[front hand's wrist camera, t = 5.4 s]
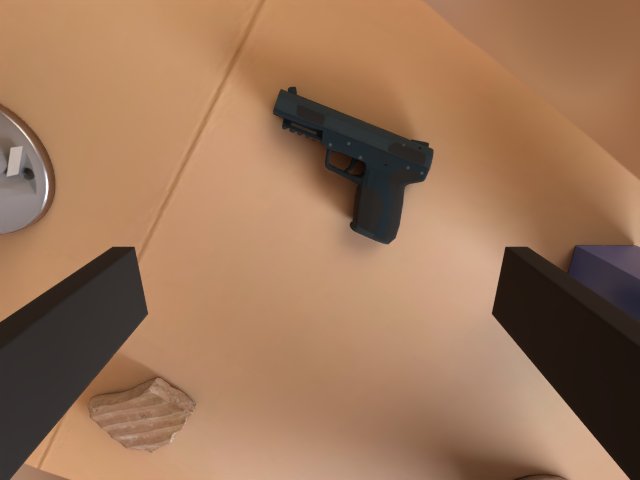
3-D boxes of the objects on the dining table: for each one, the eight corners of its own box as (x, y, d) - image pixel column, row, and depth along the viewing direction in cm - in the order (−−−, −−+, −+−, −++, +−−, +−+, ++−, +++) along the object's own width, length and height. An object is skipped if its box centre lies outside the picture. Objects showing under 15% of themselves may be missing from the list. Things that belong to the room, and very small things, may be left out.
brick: (615, 303, 46) (699, 359, 36) (559, 303, 46) (627, 359, 36) (635, 245, 43) (733, 287, 33) (575, 245, 43) (655, 287, 33)
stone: (144, 447, 55) (137, 462, 53) (90, 397, 52) (79, 411, 49) (209, 414, 53) (204, 428, 50) (158, 359, 49) (149, 372, 47)
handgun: (252, 188, 41) (285, 83, 37) (389, 238, 43) (434, 143, 39) (246, 195, 38) (281, 81, 34) (394, 248, 40) (443, 146, 36)
